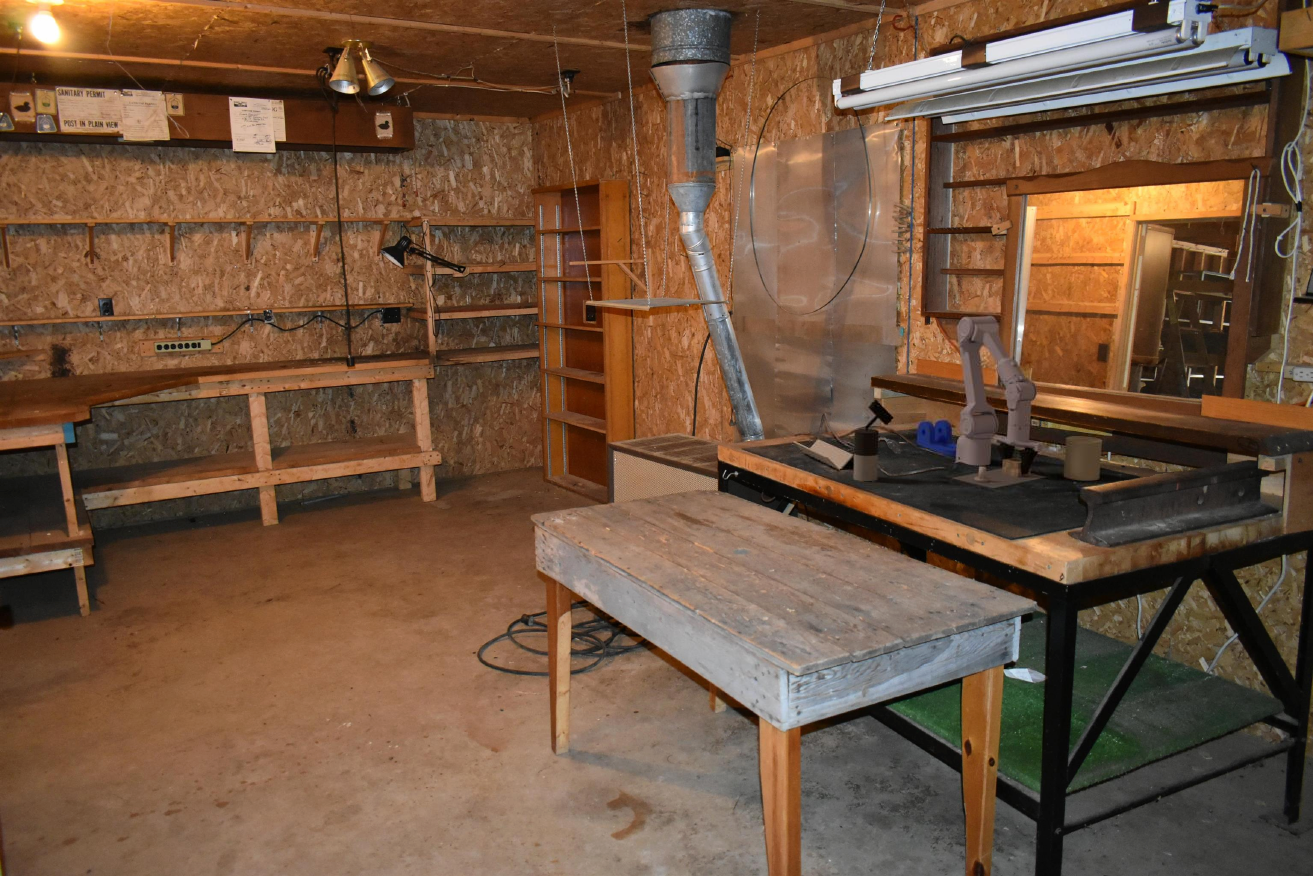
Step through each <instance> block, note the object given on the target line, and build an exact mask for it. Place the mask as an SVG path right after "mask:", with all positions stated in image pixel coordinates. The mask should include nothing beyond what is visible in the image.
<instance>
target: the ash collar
mask: <svg viewBox="0 0 1313 876" xmlns="http://www.w3.org/2000/svg"><path fill="white" fill-rule="evenodd" d="M1016 461H1018V462H1016ZM1001 468H1002V474H1006V475H1010V476H1015V477H1021V476H1026V475H1030V473H1031V468H1030V469H1029V472H1028V474H1025V475H1023V474H1021V457H1020V458H1018V457H1012V458H1010V459H1004V460H1003V462H1002V467H1001Z"/></svg>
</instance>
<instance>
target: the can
mask: <svg viewBox="0 0 1313 876" xmlns="http://www.w3.org/2000/svg"><path fill="white" fill-rule="evenodd" d="M1102 446H1103V439H1101V438H1097V437H1094V436H1082V435H1081V436H1079V435H1076V436H1075V435H1074V436H1068V437H1066V438H1065V452H1064V453H1065V454H1064V465H1063V466H1064V468H1063V477H1064V478H1067V479H1070V480H1076V481H1086V482H1087V481H1097V480H1099V479H1100V474H1101V472H1100V471H1101V470H1100V469H1101V459H1102V458H1101V456H1102Z"/></svg>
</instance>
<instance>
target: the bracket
mask: <svg viewBox="0 0 1313 876" xmlns="http://www.w3.org/2000/svg"><path fill="white" fill-rule="evenodd" d="M916 433H917V437H916V445H917V444H918V445H921V446H923V447H925V448H929V449H931V450H934V451H937V452H940V453H942V454H946V455H950V456H949V457H956V449H957V443H954V442H953V440H952V439H953V429H952V425H951V423H950V422H949V420H946V419H941V420H940V419H939V420H937V421H936V422H935V424H934V423H933V422H932V421H929V420H928V421H926V420H925V421H920V423H919V424H918V426H917V432H916Z"/></svg>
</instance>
